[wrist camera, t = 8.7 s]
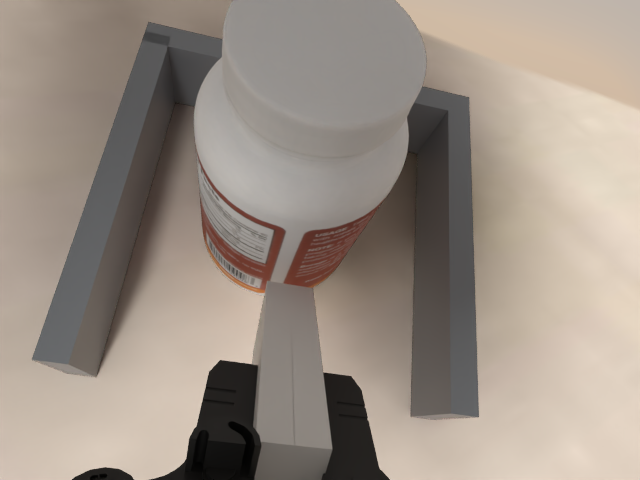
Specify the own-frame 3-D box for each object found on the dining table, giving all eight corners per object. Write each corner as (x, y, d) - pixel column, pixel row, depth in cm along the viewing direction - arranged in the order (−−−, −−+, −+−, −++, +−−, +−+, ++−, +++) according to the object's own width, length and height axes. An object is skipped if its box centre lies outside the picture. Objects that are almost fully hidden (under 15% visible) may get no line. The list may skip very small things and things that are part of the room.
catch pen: (434, 419, 19) (478, 417, 16) (66, 373, 17) (31, 359, 13) (435, 141, 24) (469, 97, 21) (158, 80, 22) (148, 21, 19)
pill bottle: (342, 178, 22) (448, -33, 12) (344, 305, 20) (477, 174, 10) (209, 163, 21) (202, -84, 11) (193, 295, 19) (167, 137, 9)
